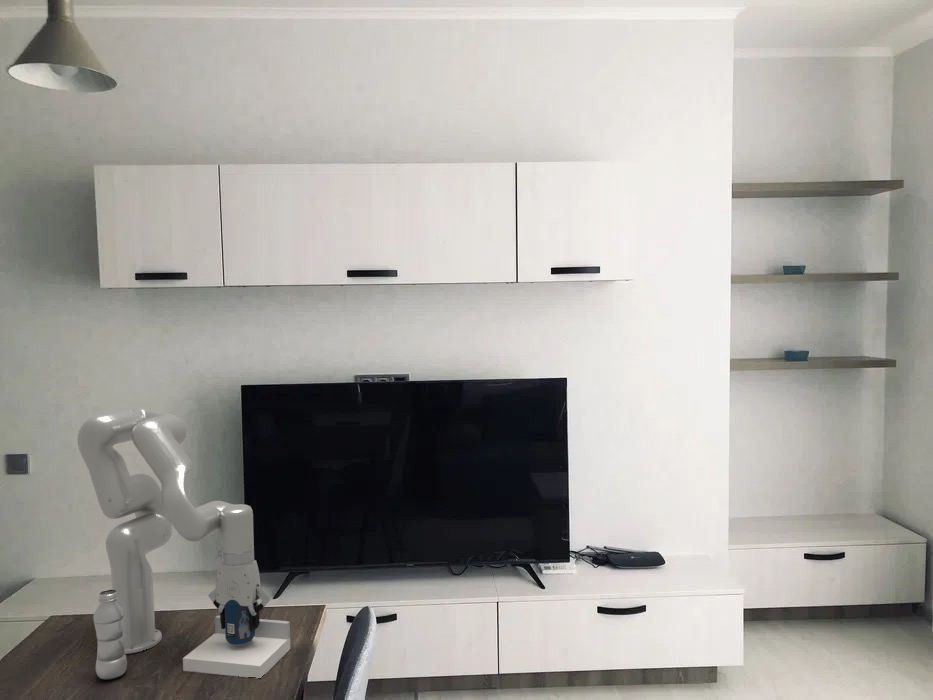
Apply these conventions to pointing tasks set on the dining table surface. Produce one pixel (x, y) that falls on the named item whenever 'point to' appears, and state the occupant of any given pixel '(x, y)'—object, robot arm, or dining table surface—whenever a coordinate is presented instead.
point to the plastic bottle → (109, 636)
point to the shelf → (241, 651)
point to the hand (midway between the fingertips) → (240, 627)
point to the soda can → (237, 624)
